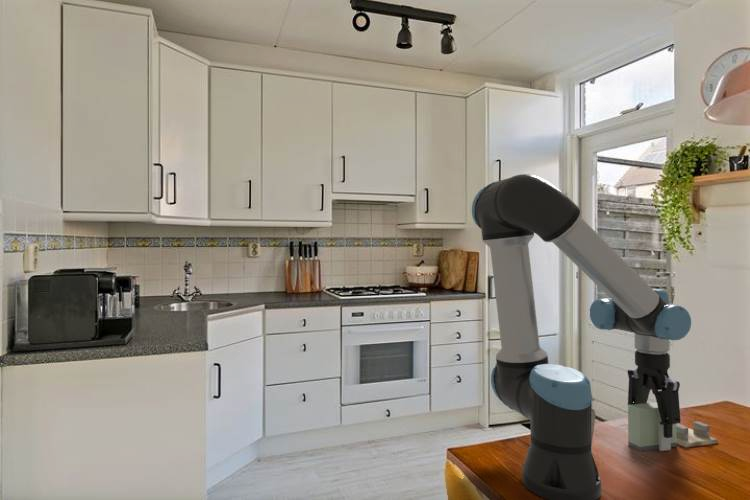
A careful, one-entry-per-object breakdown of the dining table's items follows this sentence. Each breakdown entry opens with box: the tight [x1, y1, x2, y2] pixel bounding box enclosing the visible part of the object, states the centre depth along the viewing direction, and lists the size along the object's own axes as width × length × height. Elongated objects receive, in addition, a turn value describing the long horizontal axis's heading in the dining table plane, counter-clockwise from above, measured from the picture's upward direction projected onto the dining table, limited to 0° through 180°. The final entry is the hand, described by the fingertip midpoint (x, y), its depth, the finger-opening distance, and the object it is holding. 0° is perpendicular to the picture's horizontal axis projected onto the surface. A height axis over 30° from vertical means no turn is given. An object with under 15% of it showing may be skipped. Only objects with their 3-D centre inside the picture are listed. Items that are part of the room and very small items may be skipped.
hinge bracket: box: [676, 420, 719, 448], centre depth 126 cm, size 10×16×4 cm, turn 15°
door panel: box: [627, 401, 678, 452], centre depth 118 cm, size 4×11×10 cm, turn 105°
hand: (653, 444), depth 118 cm, fingers open, 6 cm apart
